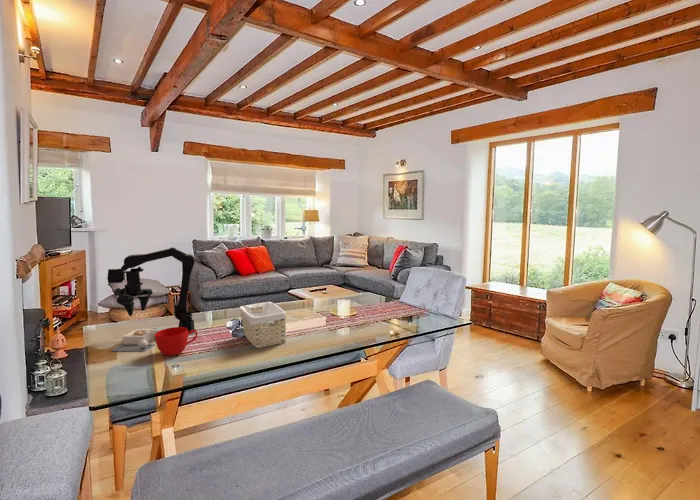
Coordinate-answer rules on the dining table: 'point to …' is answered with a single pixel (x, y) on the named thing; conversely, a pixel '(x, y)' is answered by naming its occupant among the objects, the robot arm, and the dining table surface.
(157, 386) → the dining table surface
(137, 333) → the orange tan ball
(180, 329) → the ceramic cup
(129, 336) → the stoneware dish
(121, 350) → the slate tray
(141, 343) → the glossy white ball
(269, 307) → the storage basket
